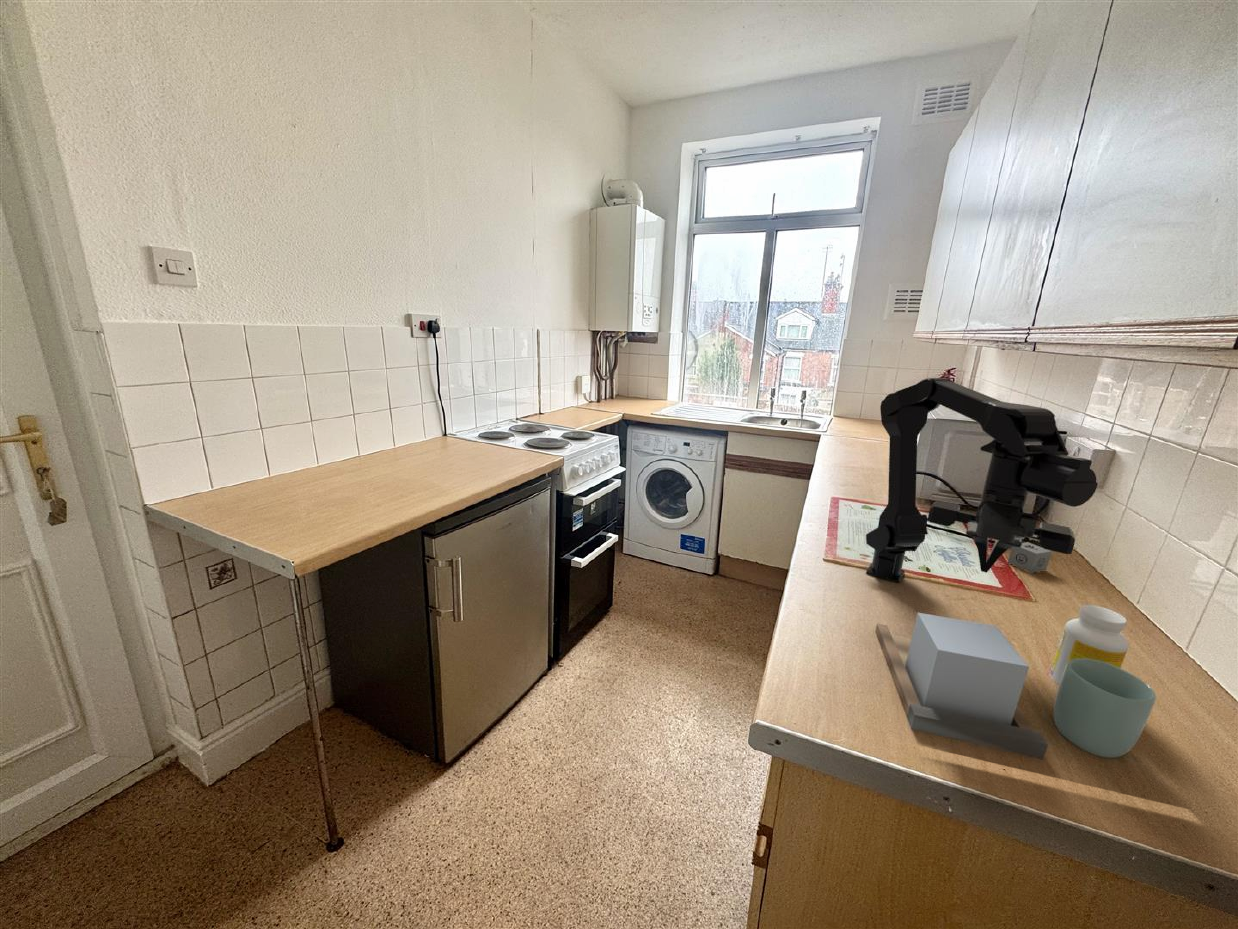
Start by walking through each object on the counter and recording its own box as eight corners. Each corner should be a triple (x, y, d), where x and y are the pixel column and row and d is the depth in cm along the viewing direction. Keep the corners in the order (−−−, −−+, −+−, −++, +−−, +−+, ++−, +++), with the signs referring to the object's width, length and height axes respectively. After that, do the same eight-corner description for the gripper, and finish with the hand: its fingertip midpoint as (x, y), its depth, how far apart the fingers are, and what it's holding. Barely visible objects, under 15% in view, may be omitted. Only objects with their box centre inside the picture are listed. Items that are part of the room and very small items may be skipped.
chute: (874, 635, 82) (877, 620, 81) (970, 653, 78) (974, 637, 77) (909, 733, 62) (914, 714, 61) (1041, 764, 58) (1048, 744, 57)
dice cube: (1022, 561, 113) (1027, 542, 111) (1045, 571, 108) (1051, 551, 107) (1007, 563, 111) (1012, 544, 110) (1030, 574, 106) (1036, 553, 105)
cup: (1146, 765, 58) (1174, 698, 56) (1094, 773, 57) (1121, 704, 54) (1078, 716, 66) (1100, 655, 63) (1031, 722, 64) (1051, 659, 62)
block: (904, 669, 73) (917, 612, 70) (979, 684, 70) (996, 625, 67) (922, 712, 64) (938, 649, 62) (1008, 731, 62) (1029, 666, 59)
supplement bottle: (1121, 709, 67) (1151, 631, 64) (1067, 700, 69) (1094, 623, 65) (1086, 677, 74) (1112, 604, 70) (1038, 670, 75) (1061, 598, 71)
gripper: (932, 482, 76) (913, 569, 81) (1091, 512, 65) (1059, 612, 69) (941, 469, 85) (923, 548, 89) (1084, 493, 73) (1055, 583, 77)
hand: (984, 571), depth 81 cm, fingers closed
